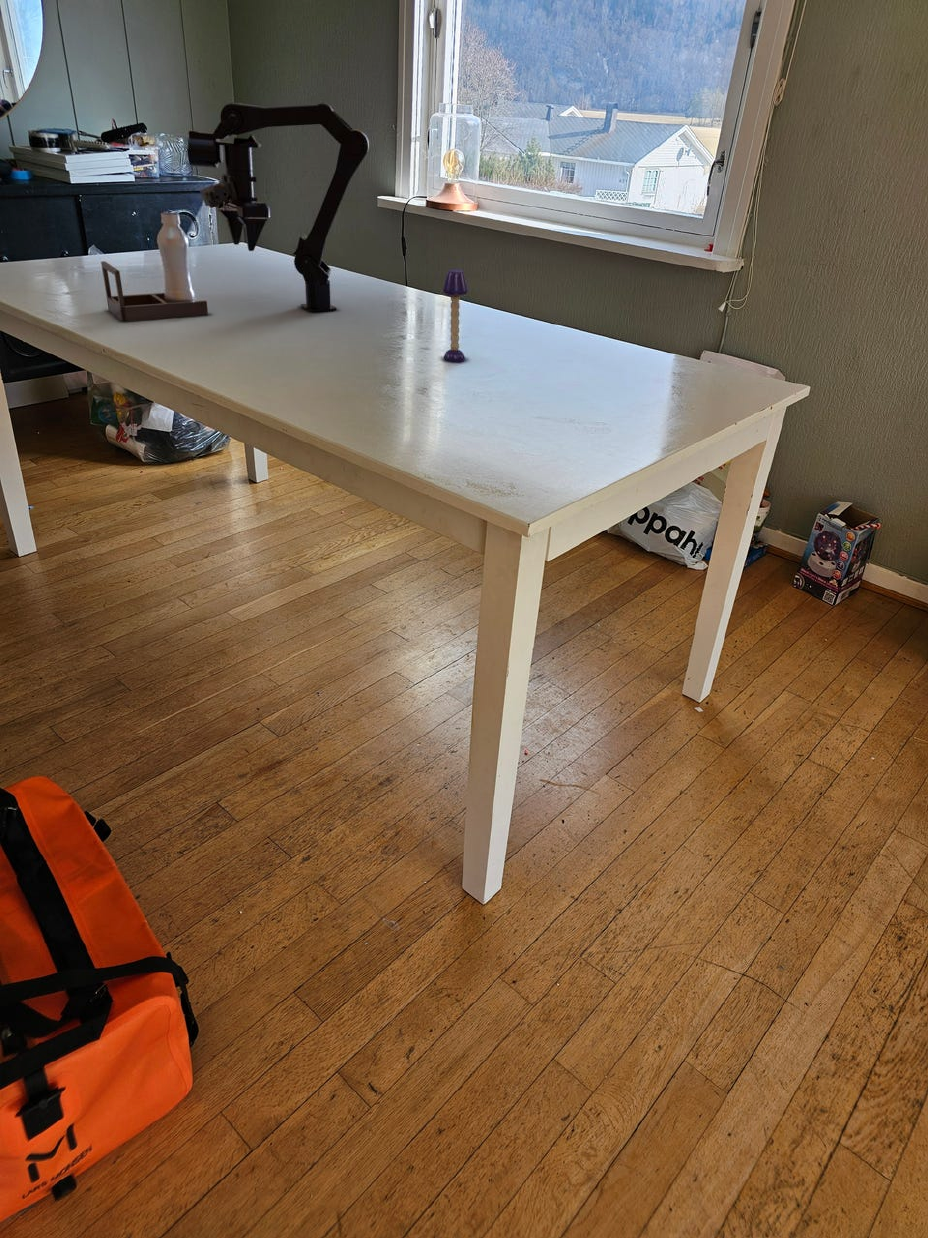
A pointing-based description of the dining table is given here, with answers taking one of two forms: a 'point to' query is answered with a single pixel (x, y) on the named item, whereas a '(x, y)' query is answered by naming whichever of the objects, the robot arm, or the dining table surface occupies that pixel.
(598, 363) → the dining table surface
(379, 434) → the dining table surface
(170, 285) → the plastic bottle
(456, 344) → the toy lamp
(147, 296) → the wooden divided caddy
